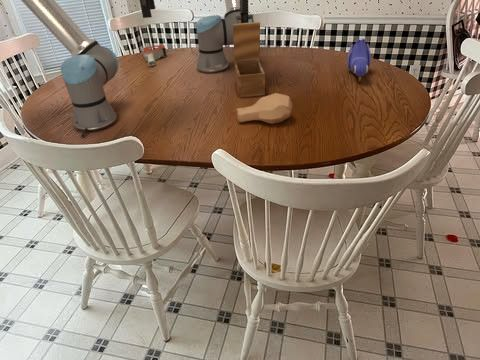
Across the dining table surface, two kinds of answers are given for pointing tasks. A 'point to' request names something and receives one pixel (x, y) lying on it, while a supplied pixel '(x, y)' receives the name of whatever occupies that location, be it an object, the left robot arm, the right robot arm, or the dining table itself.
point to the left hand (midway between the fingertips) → (149, 13)
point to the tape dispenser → (153, 53)
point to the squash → (267, 109)
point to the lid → (246, 40)
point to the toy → (359, 58)
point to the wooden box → (249, 78)
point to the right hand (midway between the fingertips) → (244, 30)
